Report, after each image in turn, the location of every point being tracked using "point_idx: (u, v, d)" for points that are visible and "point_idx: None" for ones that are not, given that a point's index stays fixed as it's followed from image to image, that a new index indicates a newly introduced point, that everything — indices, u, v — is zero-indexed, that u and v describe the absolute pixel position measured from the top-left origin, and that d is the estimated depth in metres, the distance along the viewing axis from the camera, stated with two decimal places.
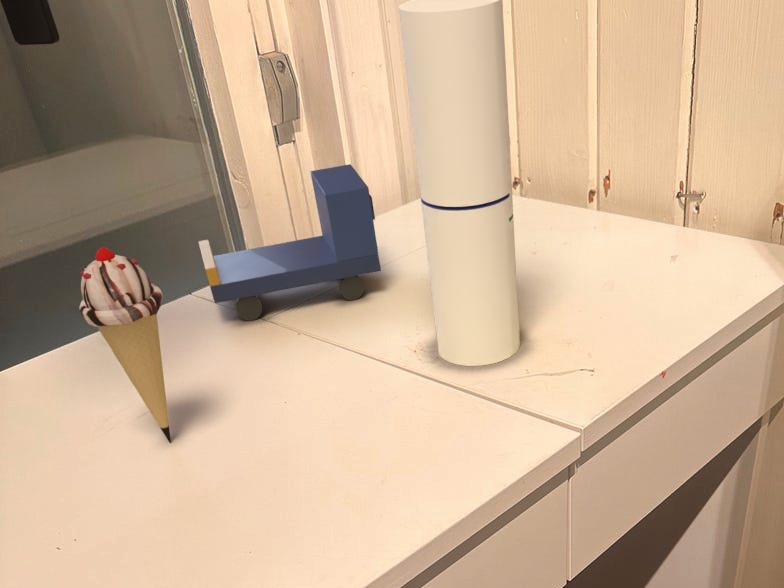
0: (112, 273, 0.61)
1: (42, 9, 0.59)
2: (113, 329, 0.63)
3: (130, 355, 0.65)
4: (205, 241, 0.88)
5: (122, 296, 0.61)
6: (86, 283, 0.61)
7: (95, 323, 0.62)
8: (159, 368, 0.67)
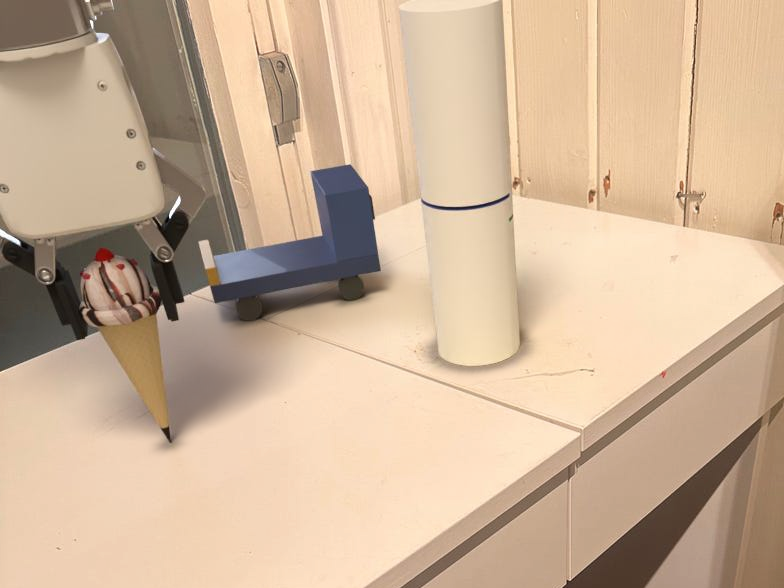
0: (111, 273, 0.61)
1: (162, 296, 0.63)
2: (113, 329, 0.63)
3: (130, 355, 0.65)
4: (205, 241, 0.88)
5: (121, 296, 0.61)
6: (85, 283, 0.61)
7: (95, 323, 0.62)
8: (158, 369, 0.67)
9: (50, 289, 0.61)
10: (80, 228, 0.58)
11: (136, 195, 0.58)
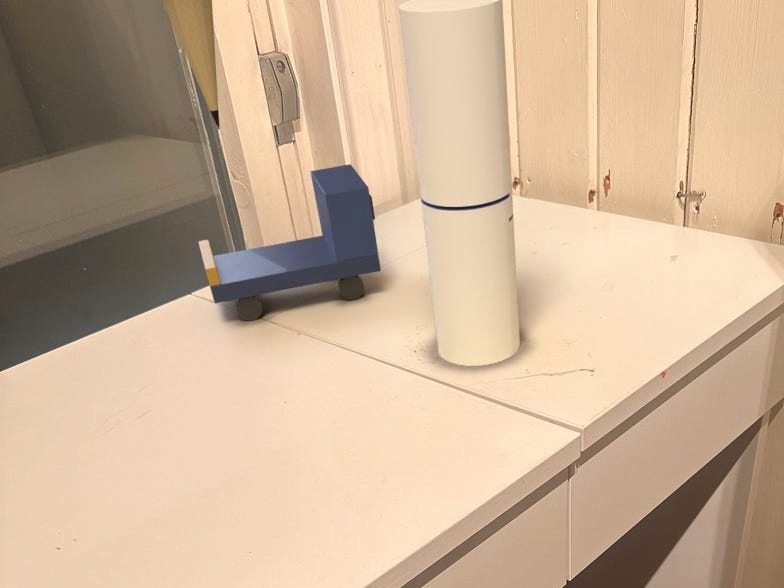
0: None
1: None
2: None
3: (186, 19, 0.70)
4: (205, 241, 0.88)
5: None
6: None
7: None
8: (211, 41, 0.72)
9: None
10: None
11: None
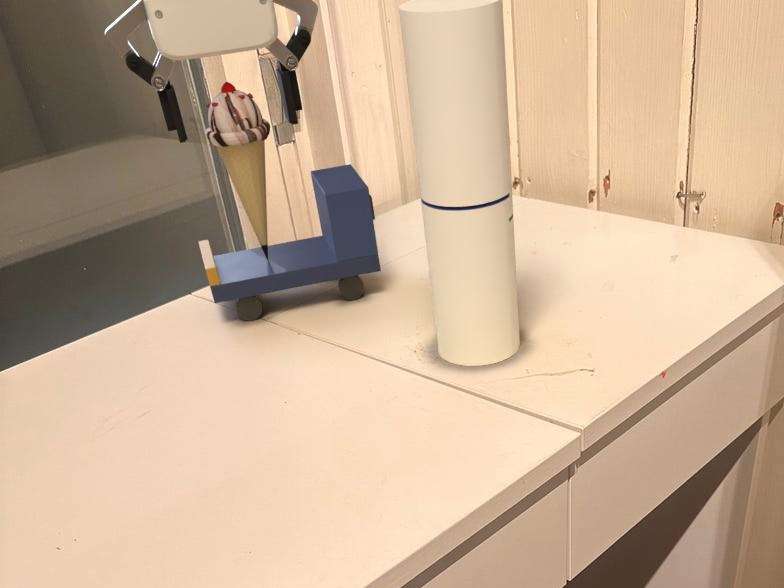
0: (235, 101, 0.77)
1: (286, 100, 0.79)
2: (233, 150, 0.79)
3: (243, 175, 0.81)
4: (205, 241, 0.88)
5: (242, 120, 0.78)
6: (214, 110, 0.78)
7: (220, 143, 0.79)
8: (264, 190, 0.83)
9: (161, 96, 0.76)
10: (213, 52, 0.74)
11: (257, 25, 0.74)
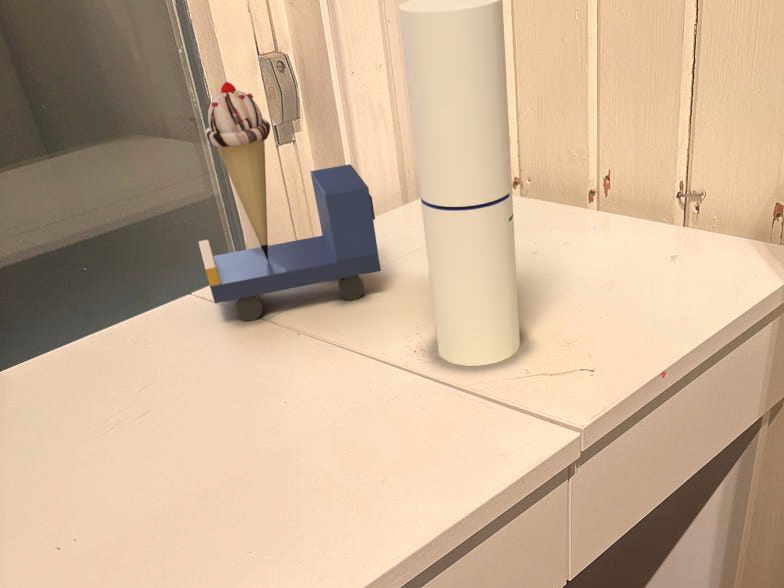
0: (235, 101, 0.77)
1: None
2: (233, 150, 0.79)
3: (243, 175, 0.81)
4: (205, 241, 0.88)
5: (242, 120, 0.78)
6: (214, 110, 0.78)
7: (220, 143, 0.79)
8: (264, 190, 0.83)
9: None
10: None
11: None
